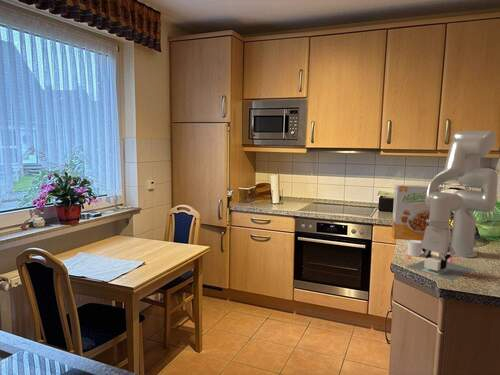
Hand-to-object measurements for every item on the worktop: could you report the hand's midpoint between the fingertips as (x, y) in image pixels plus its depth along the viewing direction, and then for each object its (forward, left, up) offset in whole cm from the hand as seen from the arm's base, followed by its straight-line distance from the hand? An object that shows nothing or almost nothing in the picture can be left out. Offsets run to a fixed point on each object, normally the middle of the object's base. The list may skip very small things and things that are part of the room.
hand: (435, 266), depth 157 cm
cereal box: (-44, -34, -2) cm, 56 cm away
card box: (0, 0, 0) cm, 0 cm away
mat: (-5, 0, -2) cm, 5 cm away
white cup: (-14, -17, -2) cm, 22 cm away
